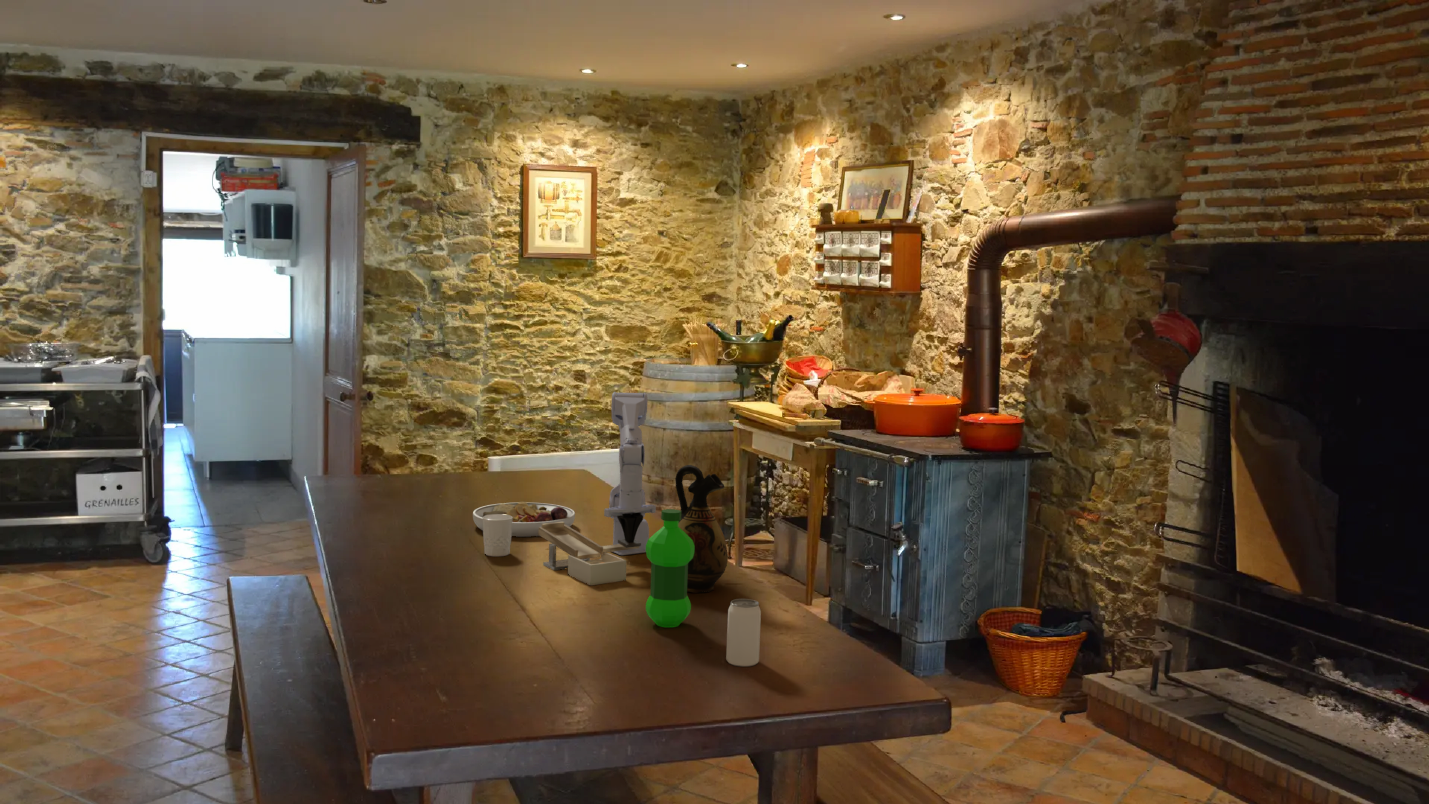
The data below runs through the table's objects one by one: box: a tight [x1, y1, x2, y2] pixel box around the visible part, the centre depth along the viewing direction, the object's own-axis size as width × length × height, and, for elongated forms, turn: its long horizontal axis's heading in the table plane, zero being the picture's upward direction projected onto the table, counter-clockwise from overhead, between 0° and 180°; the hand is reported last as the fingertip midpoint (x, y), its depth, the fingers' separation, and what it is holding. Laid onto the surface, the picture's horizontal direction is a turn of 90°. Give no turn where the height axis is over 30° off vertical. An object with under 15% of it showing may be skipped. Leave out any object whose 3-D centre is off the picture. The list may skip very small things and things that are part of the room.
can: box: [725, 598, 762, 668], centre depth 220 cm, size 6×6×12 cm
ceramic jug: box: [675, 464, 729, 594], centre depth 273 cm, size 17×15×30 cm
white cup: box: [482, 514, 513, 557], centre depth 301 cm, size 8×8×10 cm
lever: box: [538, 522, 641, 559], centre depth 294 cm, size 19×21×3 cm
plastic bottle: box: [645, 508, 695, 628], centre depth 243 cm, size 10×10×25 cm
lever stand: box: [542, 543, 591, 571], centre depth 291 cm, size 12×6×6 cm, turn 126°
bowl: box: [472, 500, 576, 538], centre depth 334 cm, size 30×30×8 cm
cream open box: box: [567, 552, 627, 586], centre depth 280 cm, size 10×11×5 cm
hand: (629, 542), depth 291 cm, fingers closed, pressing on lever
